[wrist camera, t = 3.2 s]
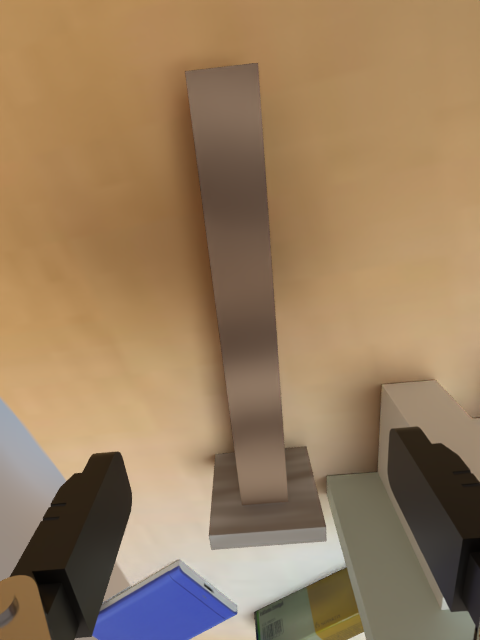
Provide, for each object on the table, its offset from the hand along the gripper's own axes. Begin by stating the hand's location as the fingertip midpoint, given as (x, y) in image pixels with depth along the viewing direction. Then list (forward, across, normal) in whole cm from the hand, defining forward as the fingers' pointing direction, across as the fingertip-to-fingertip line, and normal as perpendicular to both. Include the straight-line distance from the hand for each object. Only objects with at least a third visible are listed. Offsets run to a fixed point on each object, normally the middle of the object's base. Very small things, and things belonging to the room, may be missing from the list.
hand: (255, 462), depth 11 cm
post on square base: (+14, 0, 0) cm, 14 cm away
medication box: (+15, -4, +29) cm, 33 cm away
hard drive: (+15, +11, +30) cm, 35 cm away
